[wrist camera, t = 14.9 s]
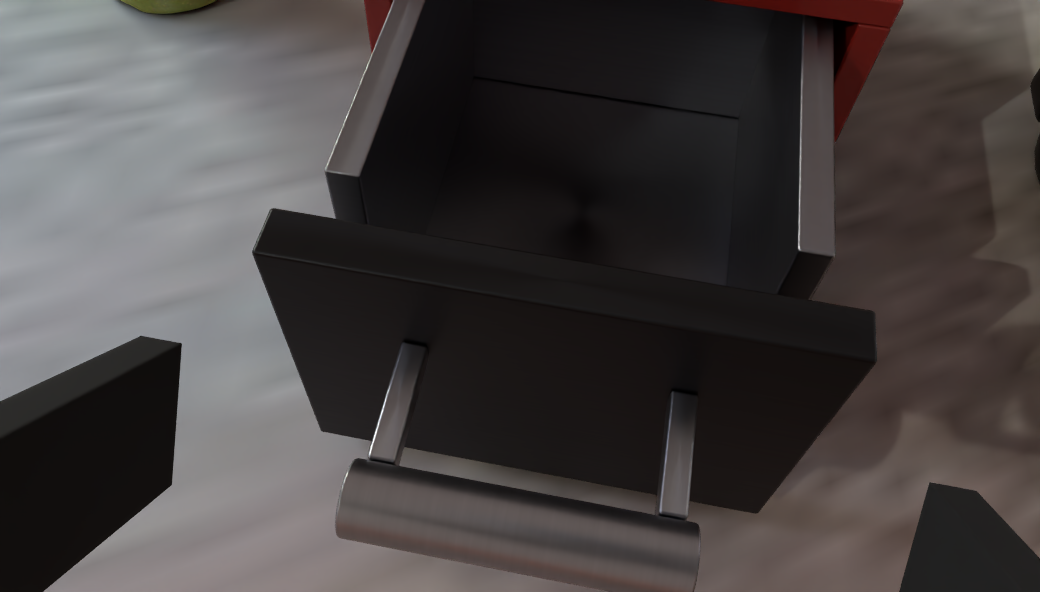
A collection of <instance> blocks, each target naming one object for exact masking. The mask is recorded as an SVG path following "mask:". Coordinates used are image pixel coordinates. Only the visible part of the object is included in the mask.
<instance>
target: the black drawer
mask: <svg viewBox="0 0 1040 592" xmlns="http://www.w3.org/2000/svg"><path fill="white" fill-rule="evenodd" d="M325 175H326V179H327V183H328V188H329V192H330V196H331V200H332V205H333V209H334V213H335V217H336V219H333V218H328V217H322V216H316V215H310V214H304V213H298V212H292V211H287V210H281V209H275V208H273V209H271V210H270V212H269V214H268V216H267V218H266V221H265V223H264V225H263V228H262V230H261V232H260V235H259V237H258V239H257V241H256V244H255V246H254V248H253V251H252V253H253V256H254V259H255V262H256V264H257V267H258V269H259V272H260V274H261V277H262V280H263V282H264V285H265V287H266V290H267V293H268V295H269V298H270V300H271V303H272V305H273V308H274V311H275V313H276V316H277V318H278V321H279V323H280V326H281V329H282V331H283V334H284V336H285V339H286V342H287V344H288V347H289V349H290V352H291V354H292V357H293V360H294V362H295V365H296V367H297V370H298V372H299V375H300V378H301V380H302V383H303V385H304V388H305V391H306V393H307V396H308V398H309V401H310V403H311V406H312V409H313V411H314V414H315V416H316V419H317V421H318V424H319V427H320V429H321V431H323V432H328V433H333V434H339V435H344V436H349V437H354V438H360V439H365V440H370V441H372V443H371V446H370V449H369V453H368V459H369V460H365V459H359V458H358V459H355V460H354V461H353V462H352V463H351V465H350V467H349V469H348V471H347V473H346V475H345V478H344V481H343V484H342V487H341V491H340V495H339V499H338V504H337V510H336V520H335V527H336V534H337V536H338V537H339V538H342V539H347V540H352V541H357V542H362V543H367V544H372V545H377V546H382V547H387V548H392V549H397V550H402V551H407V552H412V553H418V554H423V555H428V556H433V557H438V558H443V559H448V560H453V561H458V562H463V563H468V564H473V565H478V566H483V567H488V568H493V569H498V570H503V571H508V572H513V573H518V574H523V575H528V576H533V577H538V578H543V579H548V580H553V581H559V582H564V583H569V584H574V585H579V586H584V587H589V588H594V589H599V590H604V591H609V592H694V589H695V585H696V581H697V575H698V569H699V561H700V548H701V536H700V529H699V525H698V524H697V523H694V522H689V521H686V519H687V517H688V512H689V501H692V502H697V503H702V504H708V505H713V506H718V507H723V508H729V509H734V510H739V511H744V512H750V513H755V514H756V513H758V512H759V511H760V510H761V509H762V507H763V506H764V505H765V503H766V502H767V501H768V500H769V498H770V497H771V496H772V495H773V493H774V492H775V491H776V489H777V488H778V487H779V486H780V484H781V483H782V482H783V481H784V479H785V478H786V477H787V476H788V474H789V473H790V472H791V470H792V469H793V468H794V467H795V465H796V464H797V463H798V462H799V460H800V459H801V458H802V456H803V455H804V454H805V453H806V451H807V450H808V449H809V448H810V446H811V445H812V444H813V442H814V441H815V440H816V439H817V437H818V436H819V435H820V434H821V432H822V431H823V430H824V428H825V427H826V426H827V425H828V423H829V422H830V421H831V420H832V418H833V417H834V416H835V415H836V413H837V412H838V411H839V409H840V408H841V407H842V406H843V404H844V403H845V402H846V401H847V399H848V398H849V397H850V395H851V394H852V393H853V392H854V390H855V389H856V388H857V387H858V385H859V384H860V383H861V381H862V380H863V379H864V378H865V376H866V375H867V374H868V373H869V371H870V370H871V369H872V368H873V366H874V365H875V364H876V362H877V347H876V321H875V313H874V312H873V311H870V310H865V309H859V308H853V307H847V306H841V305H835V304H829V303H824V302H818V301H812V300H810V299H811V297H812V296H813V294H814V292H815V290H816V289H817V287H818V285H819V284H820V282H821V280H822V278H823V277H824V275H825V273H826V272H827V270H828V268H829V266H830V265H831V263H832V261H833V259H834V258H835V256H836V247H835V149H834V51H833V19H827V18H821V17H814V16H807V15H800V14H794V13H787V12H780V11H773V10H767V9H760V8H753V7H746V6H740V5H733V4H726V3H719V2H712V1H706V0H393V3H392V5H391V8H390V10H389V13H388V15H387V18H386V20H385V23H384V25H383V28H382V30H381V33H380V35H379V37H378V40H377V42H376V45H375V47H374V50H373V52H372V55H371V57H370V60H369V62H368V65H367V67H366V70H365V72H364V74H363V77H362V79H361V82H360V84H359V87H358V89H357V92H356V94H355V97H354V99H353V102H352V104H351V107H350V109H349V112H348V114H347V116H346V119H345V121H344V124H343V126H342V129H341V131H340V134H339V136H338V139H337V141H336V144H335V146H334V149H333V151H332V153H331V156H330V158H329V161H328V163H327V166H326V168H325ZM404 447H407V448H412V449H418V450H423V451H428V452H434V453H439V454H444V455H449V456H455V457H460V458H465V459H470V460H476V461H481V462H486V463H491V464H497V465H502V466H507V467H513V468H518V469H523V470H528V471H534V472H539V473H544V474H549V475H555V476H560V477H565V478H571V479H576V480H581V481H586V482H592V483H597V484H602V485H607V486H613V487H618V488H623V489H629V490H634V491H639V492H644V493H650V494H655V495H657V500H656V510H655V515H652V514H647V513H642V512H636V511H631V510H626V509H621V508H615V507H610V506H605V505H600V504H594V503H589V502H584V501H579V500H574V499H568V498H563V497H558V496H553V495H547V494H542V493H537V492H532V491H527V490H521V489H516V488H511V487H506V486H500V485H495V484H490V483H485V482H480V481H474V480H469V479H464V478H459V477H453V476H448V475H443V474H438V473H433V472H427V471H422V470H417V469H412V468H406V467H401V466H399V463H400V460H401V456H402V453H403V449H404Z"/></svg>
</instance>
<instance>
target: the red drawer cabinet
mask: <svg viewBox="0 0 1040 592" xmlns="http://www.w3.org/2000/svg"><path fill="white" fill-rule="evenodd" d="M706 1H712V2H719V3H726V4H733V5H740V6H746V7H753V8H760V9H767V10H773V11H780V12H787V13H794V14H800V15H807V16H814V17H821V18H827V19H833V51H834V145H835V143H836V140H837V138H838V136H839V134H840V132H841V130H842V128H843V126H844V124H845V122H846V120H847V118H848V116H849V114H850V112H851V110H852V108H853V106H854V104H855V102H856V99H857V97H858V95H859V93H860V91H861V89H862V87H863V85H864V83H865V81H866V79H867V77H868V75H869V73H870V71H871V69H872V67H873V65H874V63H875V61H876V58H877V56H878V54H879V52H880V50H881V48H882V46H883V44H884V42H885V40H886V38H887V36H888V34H889V32H890V27H892V25H893V23H894V21H895V19H896V17H897V15H898V13H899V11H900V9H901V7H902V5H903V0H706ZM392 3H393V0H364V4H365V11H366V18H367V25H368V32H369V39H370V46H371V53H372V52H373V50H374V47H375V45H376V42H377V40H378V37H379V35H380V33H381V30H382V28H383V25H384V23H385V20H386V18H387V15H388V13H389V10H390V8H391V5H392Z"/></svg>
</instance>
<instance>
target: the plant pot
mask: <svg viewBox="0 0 1040 592" xmlns="http://www.w3.org/2000/svg"><path fill="white" fill-rule="evenodd" d="M121 1H123V2H125V3H127V4H129V5H131V6H133V7H135V8H136V9H138V10H140V11H142V12H147V13H159V14H166V13H177V12H183V11H188V10H193V9H197V8H200V7H203V6H206V5H208V4H210V3H213V2H215V1H217V0H121Z"/></svg>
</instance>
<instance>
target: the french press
mask: <svg viewBox="0 0 1040 592" xmlns="http://www.w3.org/2000/svg"><path fill="white" fill-rule="evenodd" d="M1030 88H1031V94H1032V100H1033V106H1034V112H1035V117H1036V119H1037V120H1038V122H1040V69H1039V70H1038V72H1037V73H1036V75H1035V76H1034V78H1033V79H1032V82H1031V85H1030ZM1035 170H1036V173H1037V177H1038V180H1039V183H1040V134H1039V137H1038V141H1037V145H1036V148H1035Z"/></svg>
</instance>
